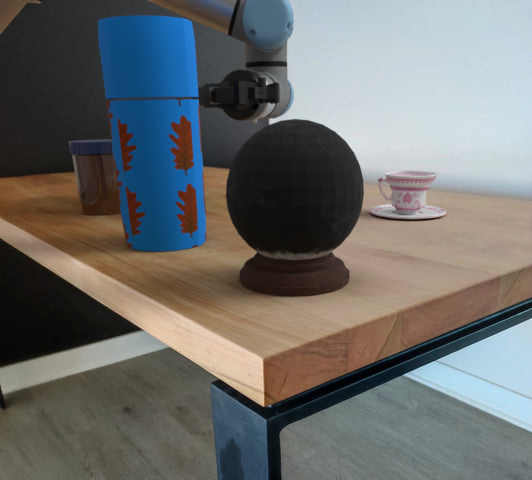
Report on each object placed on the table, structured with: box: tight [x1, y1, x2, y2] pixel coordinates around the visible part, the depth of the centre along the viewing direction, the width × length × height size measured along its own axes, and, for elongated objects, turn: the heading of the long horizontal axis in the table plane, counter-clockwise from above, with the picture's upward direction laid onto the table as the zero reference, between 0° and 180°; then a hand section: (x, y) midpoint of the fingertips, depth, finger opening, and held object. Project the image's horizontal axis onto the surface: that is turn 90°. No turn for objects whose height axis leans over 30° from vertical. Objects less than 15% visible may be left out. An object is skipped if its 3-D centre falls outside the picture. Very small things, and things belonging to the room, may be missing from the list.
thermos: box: [97, 14, 207, 252], centre depth 67 cm, size 11×11×25 cm
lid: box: [68, 138, 113, 155], centre depth 90 cm, size 8×8×2 cm
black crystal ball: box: [225, 118, 365, 297], centre depth 52 cm, size 13×13×15 cm
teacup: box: [369, 170, 447, 220], centre depth 86 cm, size 12×12×6 cm
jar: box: [72, 153, 121, 216], centre depth 92 cm, size 8×8×11 cm
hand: (189, 94), depth 73 cm, fingers open, 13 cm apart
